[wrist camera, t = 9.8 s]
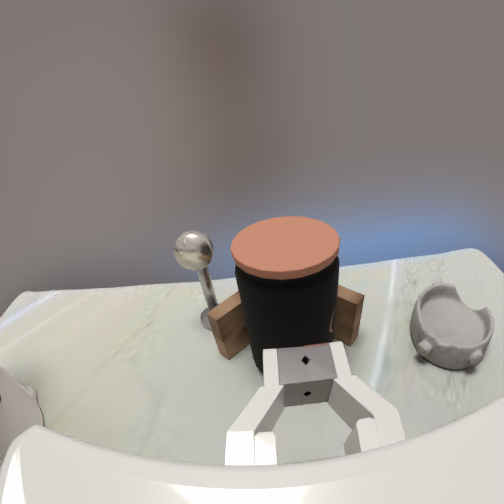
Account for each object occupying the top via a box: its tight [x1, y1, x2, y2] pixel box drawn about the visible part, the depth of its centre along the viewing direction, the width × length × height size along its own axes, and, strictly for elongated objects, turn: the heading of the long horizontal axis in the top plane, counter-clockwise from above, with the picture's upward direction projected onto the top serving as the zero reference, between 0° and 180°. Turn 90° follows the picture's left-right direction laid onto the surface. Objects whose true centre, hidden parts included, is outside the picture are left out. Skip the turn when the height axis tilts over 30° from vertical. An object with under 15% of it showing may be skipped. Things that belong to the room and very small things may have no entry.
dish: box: [411, 282, 494, 369], centre depth 31 cm, size 14×14×5 cm
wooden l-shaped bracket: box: [206, 285, 364, 360], centre depth 39 cm, size 20×13×8 cm, turn 90°
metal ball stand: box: [173, 231, 219, 330], centre depth 40 cm, size 5×5×16 cm
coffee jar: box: [231, 216, 340, 372], centre depth 31 cm, size 11×11×18 cm
